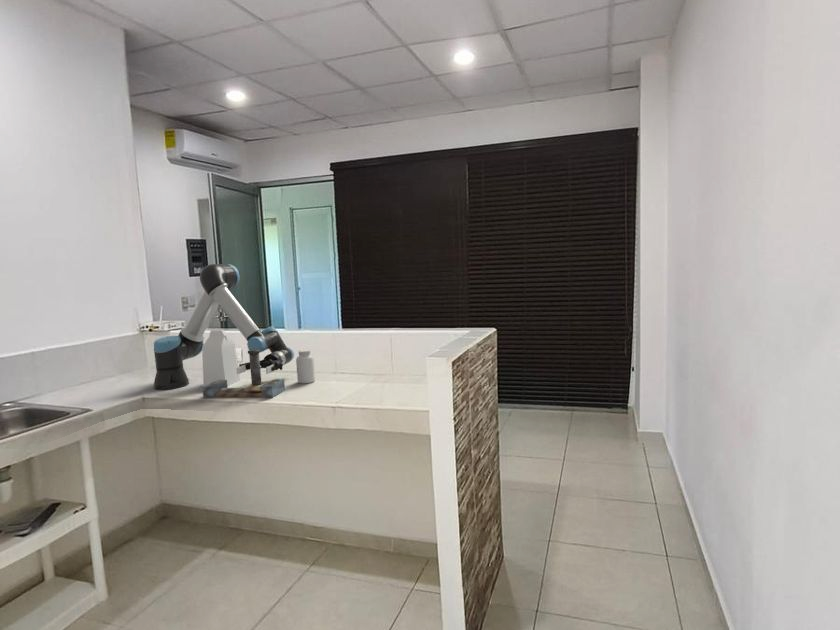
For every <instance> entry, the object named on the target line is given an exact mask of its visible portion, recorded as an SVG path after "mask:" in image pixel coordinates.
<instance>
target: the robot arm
mask: <svg viewBox="0 0 840 630" xmlns="http://www.w3.org/2000/svg"><path fill="white" fill-rule="evenodd" d="M240 279H241V277H240V273H239V270H238V268H237V267H236V266H234V265H233V264H230V263H221V264H220V263H217V264H215V263H212V264H210V263H209V264H208V265H205V266H204V267H202V270H200V273H199V281H200V284H201V287H202V288H203V290H204V292H203V294H202V296H201V298H200V300H199V302H198V304H197V305H196V308H195V309H194V312H193V313H192V315H191V316H190V317H191V318H190V319H189V321H188V323H187V325H186V327H184V328H181V329H180V331H179V333H178V334H177V335H168V336H164V337H160V338H157V339H156V340H154V342H153V352H154V361H155V368H156V370H155V371H156V373H155V376H154V382H153V389H154V390H161V389H162V390H163V389H165V390H173V389H178V388H179V389H180V388H182V387H186V386H188V385H190V381H189V377H188V375H187V373H186V370H185V369H184V361H186V360H188V359H191V358H195V357H197V356H198V355H200V354H202V347H203V345H204V340H205V337H204V333H205V332H206V329H207V327H208V326H209V324H210V322H211V320H212V318H213V316H214V315H215V313H216V310H217V309H218V307H220V309H222V310H223V312H224V313H225V315H226V316H227V317H228V318H229V319H230V321H231V322H232V323H233V324H234V326H235V327H236V329H237V330H238V331H239V332H240V334H241V335H242V336H243V337H244V339H245V340H246V341H247V343H246V346H247V349H248V351H249V350H255V349H259V350H260V353H263V352H264V351H267V350H269V351H270V353H269V354H267V355H265V356H264V358H263V359H262V360H260V370H261V369H265V372H266V375H268V374H271V373H273V372H274V371H278V370H279V371H282V370H283V366H284V365H286V364H289V363H290V362H291V361H293V359H294V357H295V353H294V349H292V348H291V347H287V345H286V344H285V342H284V341H283V339H282V337H281V335H280V334H279V332H278V330H277V329H276V328H275V326H273V325H271V326H269V327H266V328H265V329H263V330H260V328H259V327H258V326H257V325H256V323H255V321H253V319H252V318H251V316H250V315H249V314H248V313H247V311H245V309H244V308H243V306H242V305H241V303H240V302H239V301H238V300H237V299H236V297H235V296H234V295H233V294H232V292H231V289H232V288H234V287H237V285H238V284H239V282H240ZM250 370H251V369H250V361H249V362H245V363H238V368H236V371H237V374H239V375H240V374H242V373H245V372H246V371H250Z"/></svg>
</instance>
